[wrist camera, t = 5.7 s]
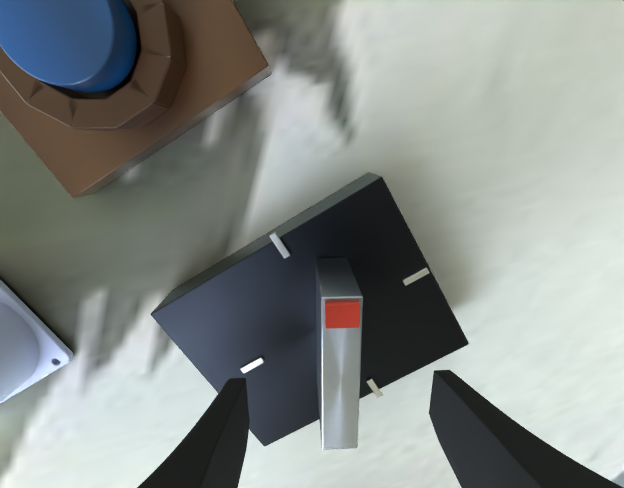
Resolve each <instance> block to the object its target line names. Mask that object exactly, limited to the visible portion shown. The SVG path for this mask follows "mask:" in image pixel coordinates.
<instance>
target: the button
mask: <svg viewBox="0 0 624 488" xmlns="http://www.w3.org/2000/svg"><path fill="white" fill-rule="evenodd" d="M0 46H1V47H2V49H3V50H4V51H5V53H6V54H7V55H8V56H9V57H10V59H11V60H12V61H13V62H14V63H15V64H17V65H18V66H19V67H20V68H21V69H22V70H24V71H25V72H26V73H28V74H29V75H31V76H33V77H34V78H36V79H39V80H41V81H43V82H46V83H49V84H52V85H56V86H60V87H64V88H68V89H72V90H76V91H80V92H85V93H99V92H104V91H107V90H110V89H112V88H114V87H115V86H117V85H118V84H120V83H121V82H122V81H123V80H124V79H125V78H126V77H127V75H128V74H129V72H130V70H131V68H132V66H133V64H134V60H135V57H136V50H137V40H136V32H135V27H134V24H133V21H132V18H131V15H130V13H129V11H128V9H127V7H126V5H125V4H124V2H123V1H122V0H0Z"/></svg>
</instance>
